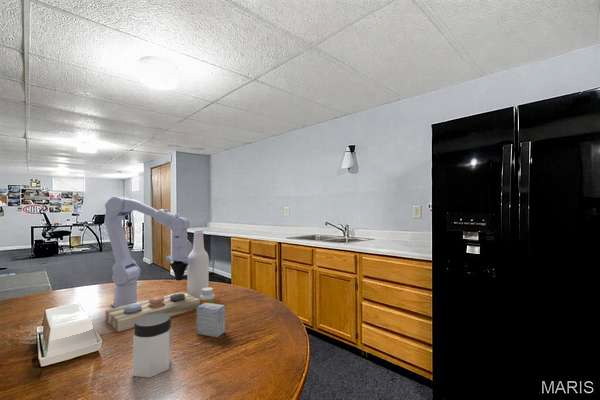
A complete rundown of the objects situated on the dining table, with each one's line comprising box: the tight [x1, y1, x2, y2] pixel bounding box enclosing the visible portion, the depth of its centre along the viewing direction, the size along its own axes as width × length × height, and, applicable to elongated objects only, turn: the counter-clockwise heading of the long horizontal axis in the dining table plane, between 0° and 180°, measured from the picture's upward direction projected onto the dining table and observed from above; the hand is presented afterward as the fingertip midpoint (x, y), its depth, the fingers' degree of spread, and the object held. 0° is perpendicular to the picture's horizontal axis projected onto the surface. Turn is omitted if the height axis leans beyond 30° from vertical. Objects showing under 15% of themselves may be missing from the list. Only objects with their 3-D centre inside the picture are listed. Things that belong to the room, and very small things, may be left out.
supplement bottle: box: [200, 286, 216, 305], centre depth 103 cm, size 5×5×10 cm
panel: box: [105, 291, 200, 333], centre depth 104 cm, size 14×28×4 cm, turn 139°
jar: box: [132, 314, 172, 379], centre depth 69 cm, size 9×8×12 cm
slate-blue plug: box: [124, 304, 141, 315], centre depth 97 cm, size 5×5×5 cm
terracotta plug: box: [148, 295, 165, 308], centre depth 103 cm, size 5×5×5 cm
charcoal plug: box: [170, 293, 185, 302], centre depth 109 cm, size 5×5×5 cm
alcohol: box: [186, 228, 210, 299], centre depth 123 cm, size 9×9×30 cm
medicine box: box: [196, 303, 226, 338], centre depth 88 cm, size 8×4×9 cm, turn 71°
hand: (179, 280), depth 113 cm, fingers closed
